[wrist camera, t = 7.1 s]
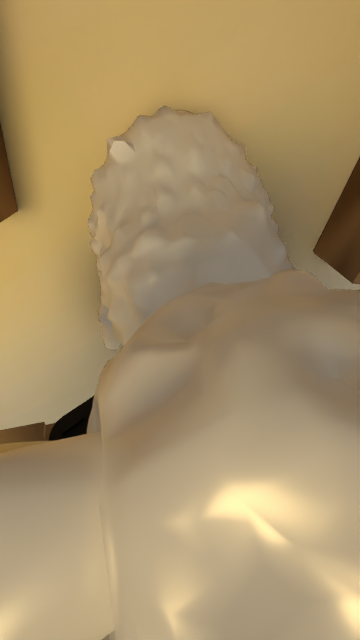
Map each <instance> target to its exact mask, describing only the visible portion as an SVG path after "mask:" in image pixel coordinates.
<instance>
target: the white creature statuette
mask: <svg viewBox="0 0 360 640" xmlns="http://www.w3.org/2000/svg"><path fill="white" fill-rule="evenodd" d="M91 182H92V185H93V187H94V191H93V193H92V195H91V201H92V206H93V211H92V213H91V215H90V217H89V219H88V227H89V228H90V230H91V232H90V234H91V235H92V237H93V238H92V240H91V243H90V244H91V246H92V252H93V253H94V254H95V255H96V256H97V264H96V267H97V269H98V273H97V274H98V277H99V279H100V287H101V295H100V301H101V306H100V308H99V309H98V311H97V312H98V314H99V321H100V323H101V331H102V337H103V341H104V345H105V346H106V347H107V348H108V349H111V350H116V349H117V348H118V347H119V346H120V345H122V346H123V348H122V350H121V351H120V352H119V353H118V355H117V356H116V357H115V358H113V359H111V360H109V361H108V362H107V363H106V365H105V367H104V368H103V370H102V372H101V374H100V378H99V381H98V385H97V388H96V392H95V395H94V399H93V405H92V410H91V414H90V417H89V421H88V426H87V434H84V435H79V436H75V437H70V438H65V439H60V440H56V441H51V442H46V443H41V444H37V445H32V446H27V447H22V448H18V449H14V450H10V451H7V452H4V453H0V640H102V639H103V638H104V637H106V636H107V635H108V634H109V638H110V640H360V290H343V289H327V288H326V287H325V286H324V285H323V284H322V283H321V282H320V281H319V280H318V279H317V278H316V277H315V276H314V275H313V274H312V273H308V272H303V271H298V270H295V269H294V268H293V266H292V264H291V263H290V262H289V258H288V256H287V250H286V245H285V244H284V243H283V242H282V241H281V239H280V237H279V236H278V228H279V227H278V225H277V224H276V222H275V221H274V220H273V219H271V216H272V213H273V209H274V207H273V206H272V205H271V203H270V199H269V196H268V193H267V192H266V190H265V189H264V187H263V185H262V184H261V179H260V178H259V177H258V176H257V170H256V166H253V165H250V164H248V163H247V161H246V159H245V146H244V145H242V144H240V143H238V142H234V141H231V140H230V138H229V137H228V136H227V134H226V133H225V131H224V130H223V128H222V127H221V126H220V124H219V123H218V121H217V120H216V119H215V117H214V116H213V115H212V113H211V112H207V113H201V114H197V115H194V114H193V113H192V112H188V111H180V110H178V111H174V110H173V109H171V108H169V107H167V106H163V107H162V108H161V109H159V110H158V111H157V112H156V113H155V115H154V116H153V117H148V116H138V117H137V119H136V120H135V122H134V123H133V125H132V127H130V128H129V129H128V131H127V132H125V133H124V134H122V135H120V136H119V137H113V138H110V139H107V159H106V161H105V163H104V165H102V166H101V167H100V168H98V169H96V170H95V171H94V173H93V175H92V177H91Z"/></svg>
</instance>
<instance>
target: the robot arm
mask: <svg viewBox="0 0 360 640" xmlns="http://www.w3.org/2000/svg"><path fill="white" fill-rule="evenodd" d="M93 399H94V396H93V397H92V398H90V399H89V400H87V401H85V402H84V403H82V404H81V405H79V406H78V407H76V408H75V409H73V410H72V411H70V412H69V413H67V414H66V415H64V416H63V417H62V418H61V419H59V420H58V421H57V422H56V423H53V424H48V425H45V423H44V422H41V423H36V424H31V425H26V426H20V427H15V428H10V429H4V430H0V453H4V452H7V451H10V450H14V449H18V448H22V447H27V446H32V445H37V444H41V443H46V442H51V441H56V440H60V439H65V438H70V437H75V436H79V435H84V434H87V426H88V421H89V417H90V414H91V410H92V405H93ZM102 640H110V638H109V634H108V635H107V636H106V637H104V638H103V639H102Z"/></svg>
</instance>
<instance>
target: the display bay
mask: <svg viewBox="0 0 360 640" xmlns="http://www.w3.org/2000/svg"><path fill="white" fill-rule="evenodd" d="M15 212H17V206H16V201H15V196H14V191H13V186H12V181H11V176H10V171H9V166H8V161H7V156H6V151H5V146H4V141H3V136H2V131H1V126H0V222H2V221H3V220H5V219H6V218H8V217H9V216H11V215H12V214H14V213H15ZM313 252H314V253H315V254H316V255H318V256H319V257H320V258H321V259H323V260H324V261H325V262H326V263H328V264H329V265H330V266H331V267H333V268H334V269H335V270H336V271H338V272H339V273H340V274H341V275H343V276H344V277H345V278H346V279H348V280H349V281H350V282H351V283H354V284H360V159H359V161H358V163H357V165H356V167H355V169H354V171H353V173H352V175H351V177H350V179H349V181H348V183H347V185H346V187H345V189H344V191H343V193H342V195H341V197H340V199H339V201H338V203H337V205H336V207H335V209H334V211H333V213H332V215H331V217H330V219H329V221H328V223H327V225H326V227H325V229H324V231H323V233H322V235H321V237H320V239H319V241H318V243H317V245H316V247H315V249H314V251H313Z"/></svg>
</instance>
